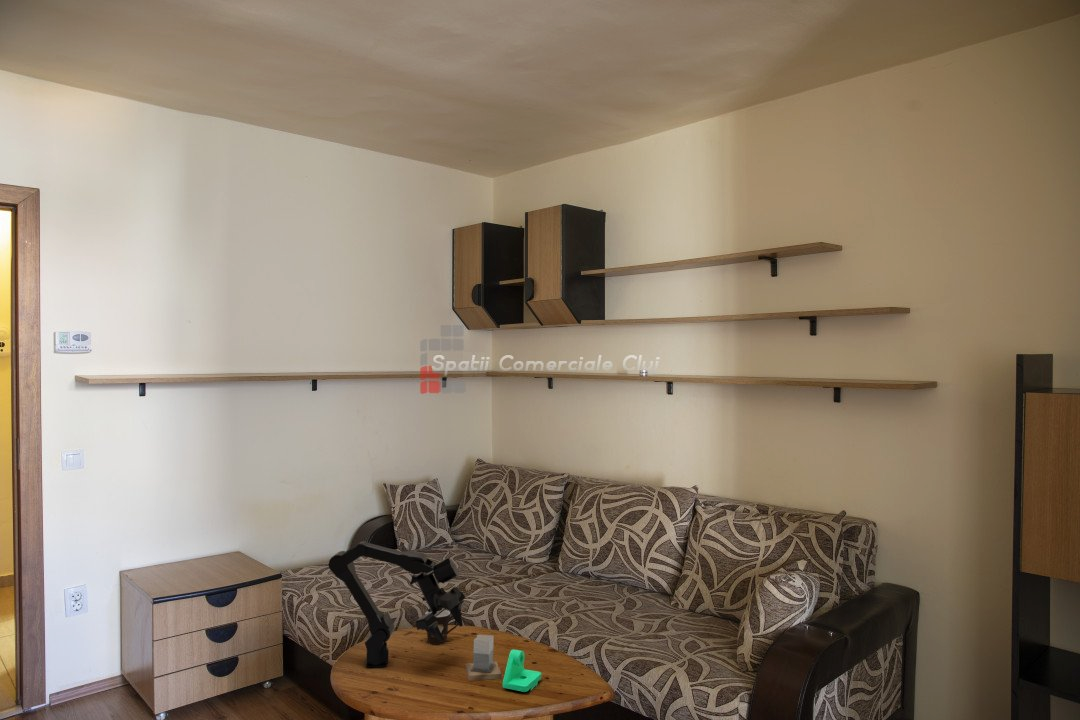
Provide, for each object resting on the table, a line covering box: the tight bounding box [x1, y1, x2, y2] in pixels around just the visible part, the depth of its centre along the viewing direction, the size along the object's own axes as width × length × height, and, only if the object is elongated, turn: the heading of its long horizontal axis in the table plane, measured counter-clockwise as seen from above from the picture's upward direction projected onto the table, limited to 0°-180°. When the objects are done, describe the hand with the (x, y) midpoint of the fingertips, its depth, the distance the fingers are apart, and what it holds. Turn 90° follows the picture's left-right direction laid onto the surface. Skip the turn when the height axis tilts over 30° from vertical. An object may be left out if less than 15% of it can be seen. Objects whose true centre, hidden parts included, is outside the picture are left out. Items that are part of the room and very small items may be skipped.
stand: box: [465, 661, 502, 682], centre depth 230 cm, size 10×10×2 cm
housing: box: [470, 634, 496, 673], centre depth 230 cm, size 6×6×10 cm
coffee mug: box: [424, 609, 459, 646], centre depth 257 cm, size 12×9×10 cm
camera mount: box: [502, 649, 542, 693], centre depth 221 cm, size 12×8×10 cm, turn 156°
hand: (452, 633), depth 235 cm, fingers open, 9 cm apart
